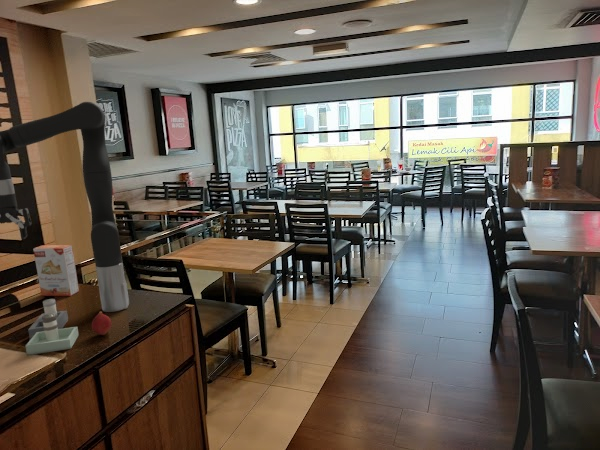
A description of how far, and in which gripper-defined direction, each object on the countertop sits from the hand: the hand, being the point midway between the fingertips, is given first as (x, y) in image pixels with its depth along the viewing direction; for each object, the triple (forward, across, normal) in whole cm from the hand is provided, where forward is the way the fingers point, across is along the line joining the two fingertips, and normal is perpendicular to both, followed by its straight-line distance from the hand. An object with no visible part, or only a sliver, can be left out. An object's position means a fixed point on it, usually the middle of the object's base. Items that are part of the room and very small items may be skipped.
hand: (10, 240), depth 151 cm
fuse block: (+30, -11, +11) cm, 34 cm away
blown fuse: (+29, -16, +25) cm, 42 cm away
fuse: (+30, -11, +7) cm, 33 cm away
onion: (+30, -30, +23) cm, 48 cm away
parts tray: (+30, -16, +25) cm, 42 cm away
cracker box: (+30, -4, -29) cm, 42 cm away
